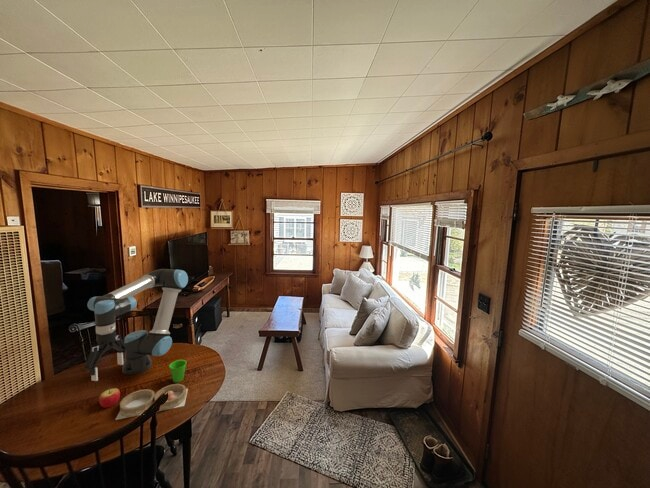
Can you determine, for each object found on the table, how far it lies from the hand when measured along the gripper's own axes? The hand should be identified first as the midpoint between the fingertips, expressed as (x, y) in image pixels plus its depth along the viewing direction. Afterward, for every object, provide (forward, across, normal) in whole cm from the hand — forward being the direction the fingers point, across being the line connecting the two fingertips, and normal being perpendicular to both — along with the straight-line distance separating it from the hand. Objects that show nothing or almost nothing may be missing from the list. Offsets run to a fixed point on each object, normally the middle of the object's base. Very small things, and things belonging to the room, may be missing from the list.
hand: (108, 372), depth 130 cm
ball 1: (+17, +9, -26) cm, 33 cm away
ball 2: (+17, +6, -30) cm, 35 cm away
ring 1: (+17, +1, -15) cm, 23 cm away
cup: (+18, +23, -21) cm, 36 cm away
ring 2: (+17, +8, -28) cm, 34 cm away
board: (+18, +4, -22) cm, 29 cm away
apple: (+18, 0, 0) cm, 19 cm away
